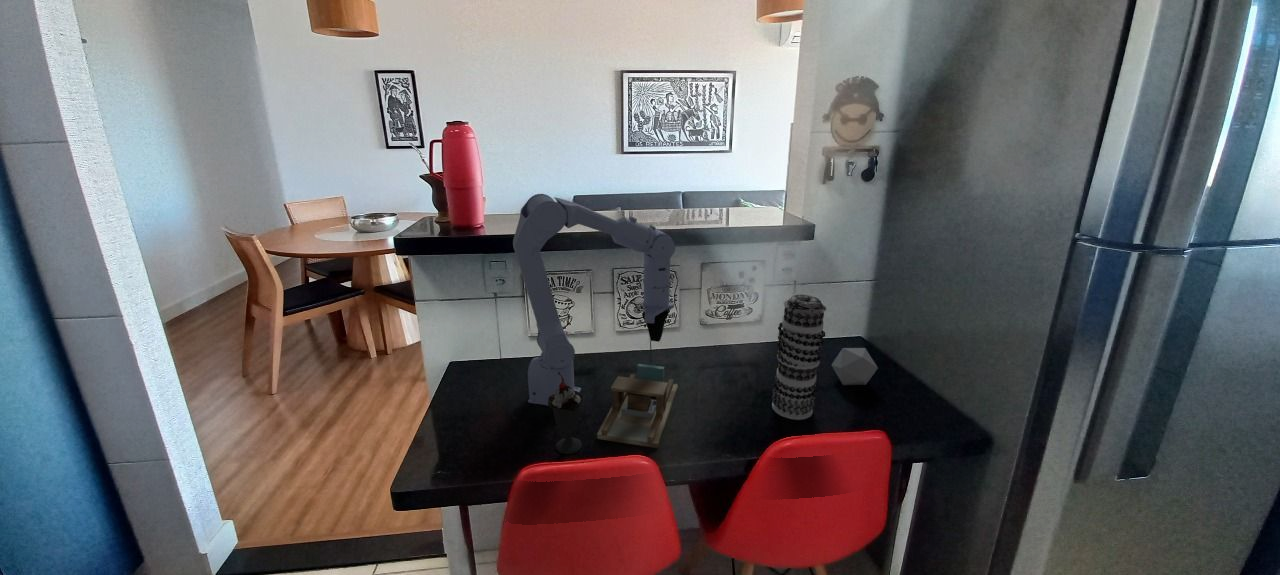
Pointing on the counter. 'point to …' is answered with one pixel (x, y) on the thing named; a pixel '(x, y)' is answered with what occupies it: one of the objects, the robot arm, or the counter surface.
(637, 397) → the walnut block
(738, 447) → the counter surface
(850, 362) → the die
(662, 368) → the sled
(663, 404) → the tunnel board
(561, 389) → the sundae
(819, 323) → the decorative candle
